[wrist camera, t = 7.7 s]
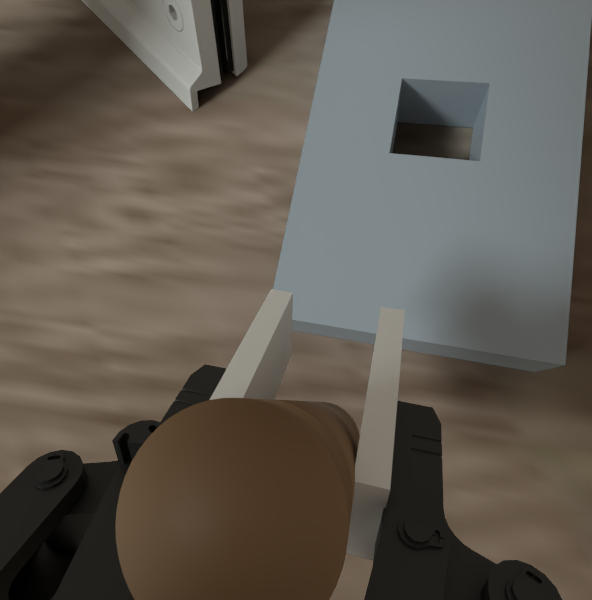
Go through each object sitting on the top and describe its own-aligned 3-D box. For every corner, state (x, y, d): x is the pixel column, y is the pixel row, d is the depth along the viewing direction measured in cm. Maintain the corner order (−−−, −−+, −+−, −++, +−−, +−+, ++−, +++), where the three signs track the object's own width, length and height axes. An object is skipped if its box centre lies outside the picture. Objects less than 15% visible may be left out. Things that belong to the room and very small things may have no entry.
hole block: (534, 372, 24) (565, 365, 20) (282, 328, 27) (267, 315, 23) (567, -1, 29) (597, -64, 25) (350, -6, 32) (347, -63, 28)
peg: (279, 470, 18) (87, 617, 6) (293, 395, 19) (148, 378, 6) (353, 488, 18) (324, 693, 5) (365, 410, 18) (366, 422, 6)
